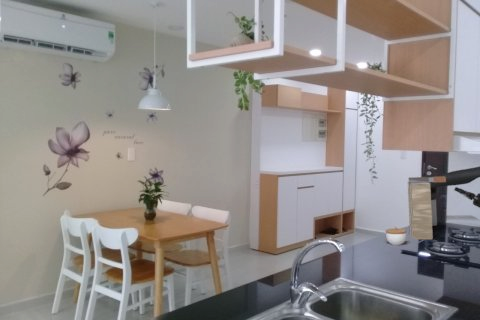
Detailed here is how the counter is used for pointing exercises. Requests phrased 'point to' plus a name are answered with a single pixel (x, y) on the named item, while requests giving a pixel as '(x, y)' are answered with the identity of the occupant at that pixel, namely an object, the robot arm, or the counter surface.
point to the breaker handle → (437, 179)
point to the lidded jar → (396, 236)
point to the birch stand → (420, 208)
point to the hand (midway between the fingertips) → (456, 189)
